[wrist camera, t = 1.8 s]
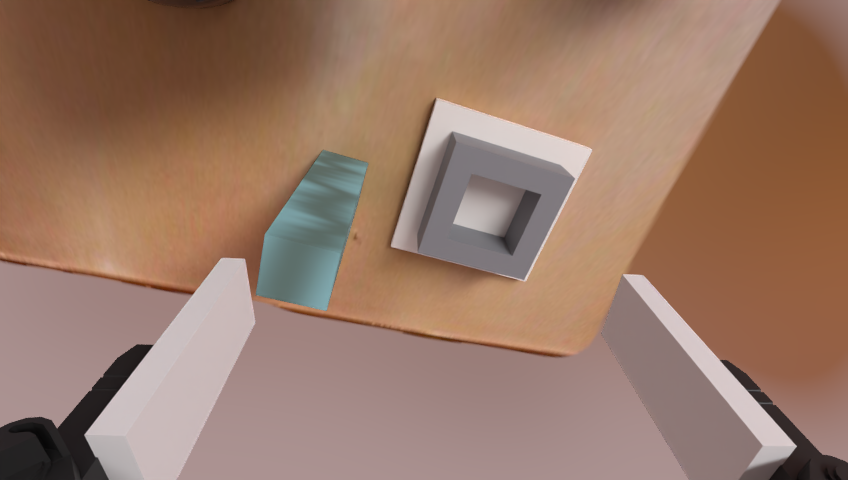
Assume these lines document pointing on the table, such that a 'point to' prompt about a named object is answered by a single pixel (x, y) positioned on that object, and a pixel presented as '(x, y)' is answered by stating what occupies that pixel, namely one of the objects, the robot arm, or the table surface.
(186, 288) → the table surface
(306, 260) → the peg
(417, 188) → the socket block
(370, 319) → the table surface
